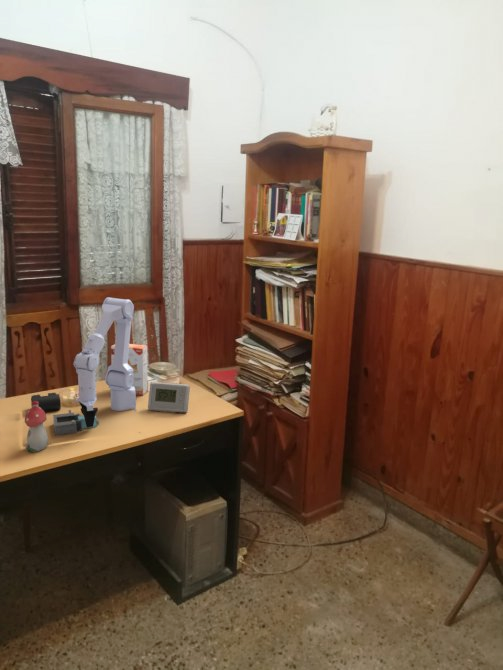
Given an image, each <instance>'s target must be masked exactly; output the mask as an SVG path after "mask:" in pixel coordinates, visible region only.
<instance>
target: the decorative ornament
mask: <svg viewBox="0 0 503 670" xmlns="http://www.w3.org/2000/svg"><path fill="white" fill-rule="evenodd" d="M38 405H39V402H38V401H33V402H32V406H31V407H30V409H28V411H27V412H26V413H25V416H24V423H25V424H26V426H27V427H29V428H28V431H27V435H26V443H25V446H24V447H25V448H24V449H25V450H26V451H27V452H29V453H38V452H40V451H42V450H45V449H46V447H47V445H48V441H49V437H48V436H49V435H48V433H47V429H46V427H45V425H44V423H45V422H46V421H47V419H48V417H47V414H46V412H44V411H43V410H42V409H41V408H40V407H39V406H38Z"/></svg>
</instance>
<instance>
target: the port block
mask: <svg viewBox="0 0 503 670" xmlns="http://www.w3.org/2000/svg"><path fill="white" fill-rule="evenodd" d="M52 416H53V417H52V418H53V420H52V421H53V431H54V436H55V437H56V436H57V437H58V436H64V435H73V434H77V433H78V432H81V431H83V429H82V421H80V420H78V416H81V414H80V413H77V414H75V413H74V412H71V413H69V412H66V413H60V414H58V413H57V414H53V415H52Z"/></svg>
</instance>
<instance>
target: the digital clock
mask: <svg viewBox="0 0 503 670" xmlns="http://www.w3.org/2000/svg"><path fill="white" fill-rule="evenodd" d="M190 388H191V387H190V385H189V384H185V383H177V382H176V383H174V382H163V381H161V382H160V381H159V382H157V381H152V382H150V384H149V390H148V391H149V392H148V404H147V409H148V410H150V411H157V412H163V411H168V412H167V413H175V412H179V413H183V414H184V413H185V414H186V413H187V412H188V411H189V400H190Z"/></svg>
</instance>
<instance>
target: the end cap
mask: <svg viewBox="0 0 503 670" xmlns="http://www.w3.org/2000/svg"><path fill="white" fill-rule="evenodd" d="M33 401H38V402H39V405H38V406H39V407H40V408H41V409H42V410H43V411H44V412H45V413H46V412H52V411H60V410H61V408H62V403H61V397H60V394H59V393H56V392H49V393H47V395H41V394H34V395H33V394H32V395H31V397H30V403H31V405H30V406H31V407H32V402H33Z"/></svg>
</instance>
